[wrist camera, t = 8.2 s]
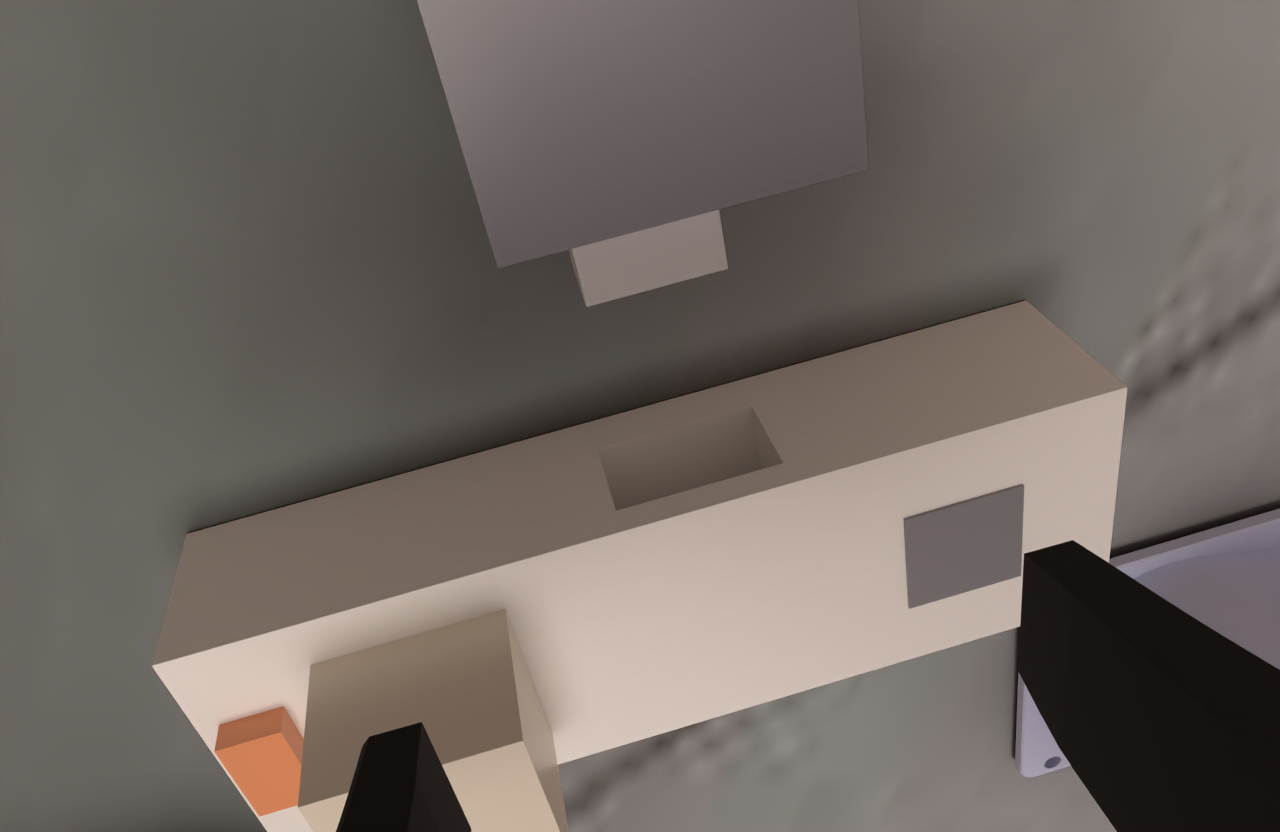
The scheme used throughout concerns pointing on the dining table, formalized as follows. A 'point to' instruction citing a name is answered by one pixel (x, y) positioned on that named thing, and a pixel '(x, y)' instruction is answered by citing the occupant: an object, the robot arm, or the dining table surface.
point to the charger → (644, 122)
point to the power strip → (672, 545)
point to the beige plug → (438, 724)
